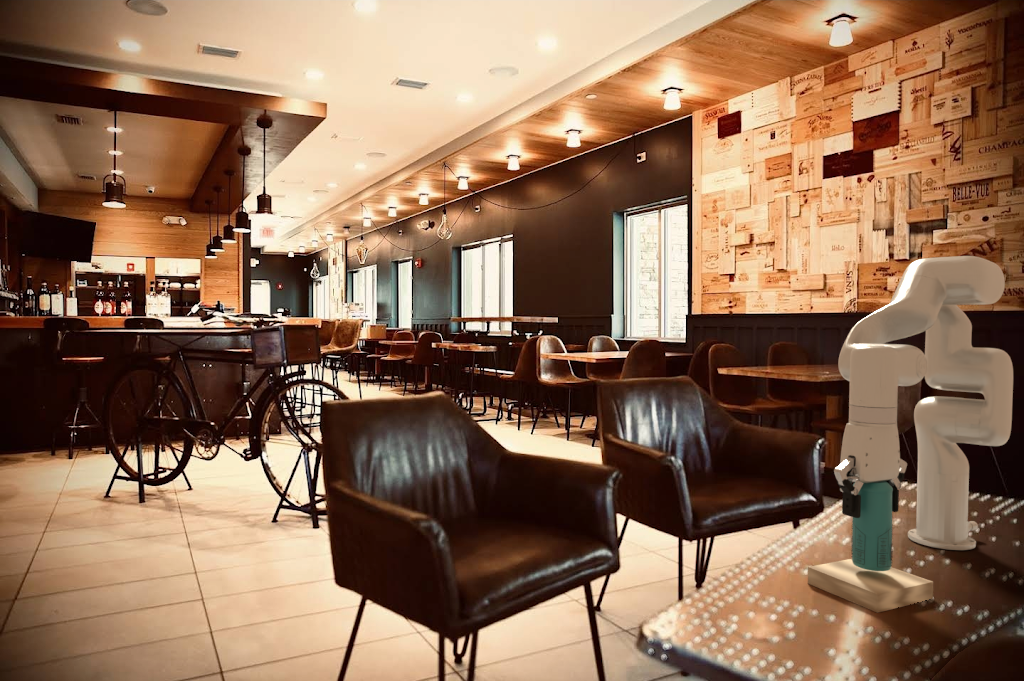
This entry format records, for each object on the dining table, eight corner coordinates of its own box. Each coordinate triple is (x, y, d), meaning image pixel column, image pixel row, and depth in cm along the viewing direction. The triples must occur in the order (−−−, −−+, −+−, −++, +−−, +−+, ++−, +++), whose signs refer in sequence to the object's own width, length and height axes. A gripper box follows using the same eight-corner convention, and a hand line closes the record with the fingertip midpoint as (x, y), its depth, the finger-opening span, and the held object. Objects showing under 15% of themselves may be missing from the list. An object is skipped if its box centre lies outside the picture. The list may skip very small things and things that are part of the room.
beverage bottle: (897, 581, 119) (900, 465, 119) (855, 578, 121) (858, 463, 120) (885, 568, 126) (888, 458, 125) (845, 565, 127) (848, 456, 126)
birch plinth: (860, 572, 132) (861, 556, 132) (932, 599, 119) (933, 581, 119) (807, 583, 126) (808, 566, 126) (877, 612, 113) (877, 594, 113)
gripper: (886, 411, 129) (884, 503, 130) (819, 415, 122) (817, 513, 122) (925, 416, 122) (922, 513, 123) (857, 421, 115) (854, 524, 115)
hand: (870, 513), depth 122 cm, fingers open, 9 cm apart
